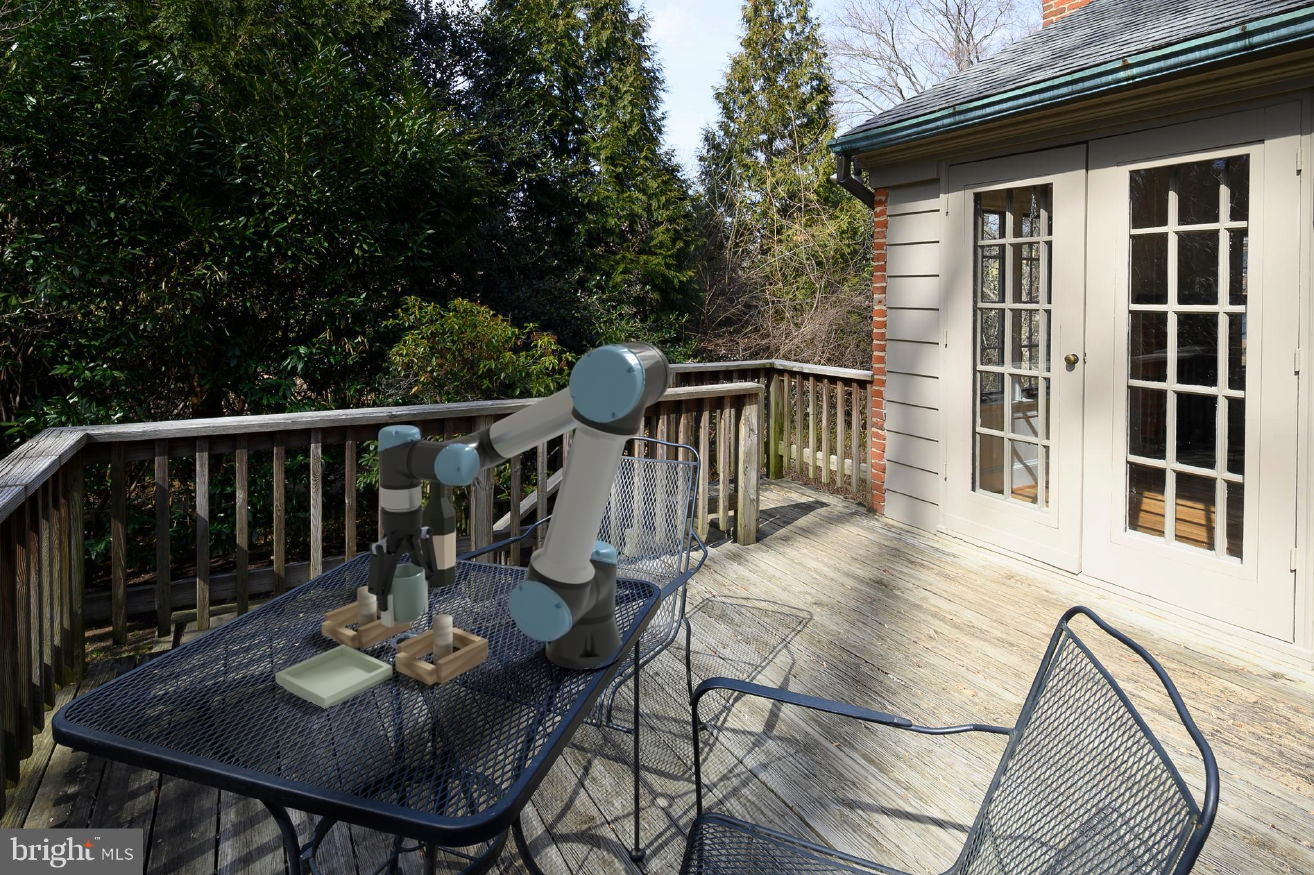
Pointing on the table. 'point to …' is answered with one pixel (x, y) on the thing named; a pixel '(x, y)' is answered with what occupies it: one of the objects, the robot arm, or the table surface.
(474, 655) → the rack
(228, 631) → the table surface
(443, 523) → the wine bottle
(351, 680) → the tray
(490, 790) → the table surface
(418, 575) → the cup
